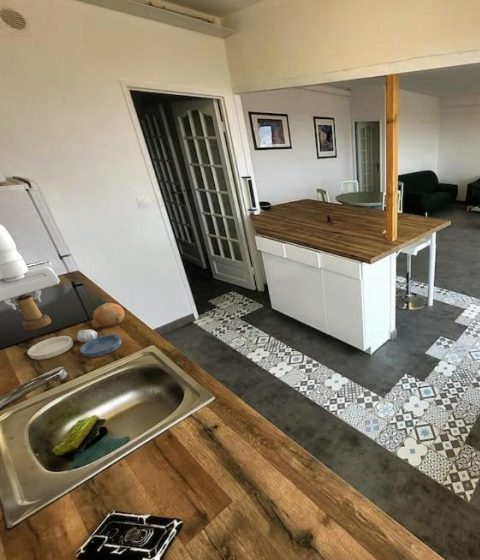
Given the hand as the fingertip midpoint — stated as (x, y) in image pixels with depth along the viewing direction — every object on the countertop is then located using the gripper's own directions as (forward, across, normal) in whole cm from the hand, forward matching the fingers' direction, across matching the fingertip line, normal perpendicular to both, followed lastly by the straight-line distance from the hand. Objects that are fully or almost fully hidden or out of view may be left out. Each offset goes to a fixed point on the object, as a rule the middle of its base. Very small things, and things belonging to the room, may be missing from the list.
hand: (27, 305), depth 107 cm
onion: (+20, -20, 0) cm, 28 cm away
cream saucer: (+19, 0, 0) cm, 19 cm away
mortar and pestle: (+8, 0, 0) cm, 8 cm away
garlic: (+20, -9, +5) cm, 22 cm away
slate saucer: (+19, -9, +15) cm, 26 cm away
